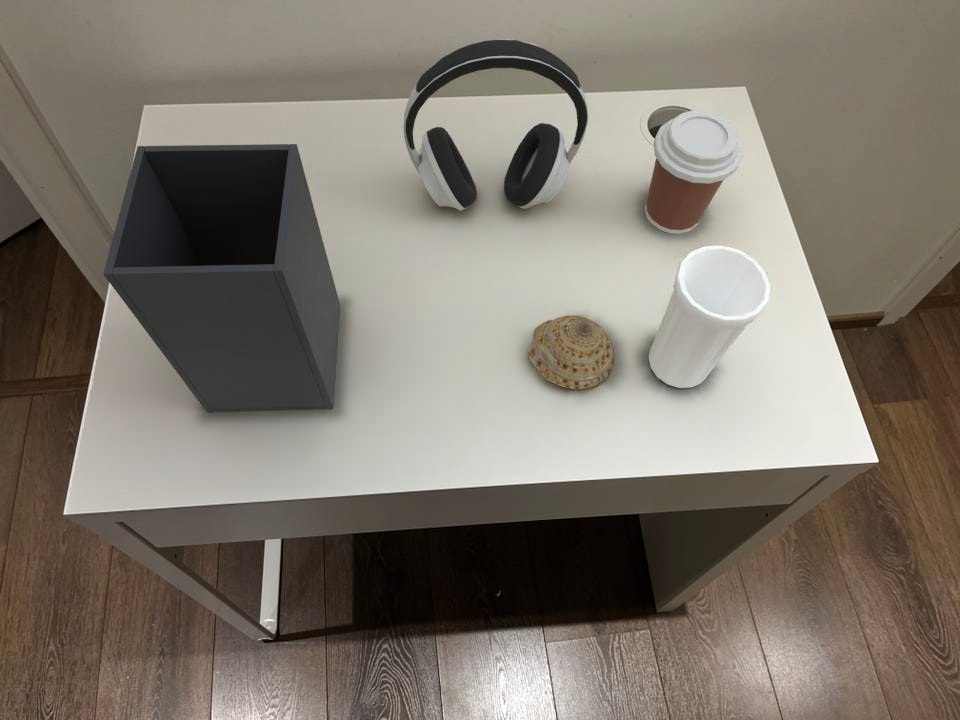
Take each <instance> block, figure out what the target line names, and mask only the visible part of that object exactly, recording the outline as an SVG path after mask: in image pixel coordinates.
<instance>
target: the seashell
mask: <svg viewBox="0 0 960 720" xmlns="http://www.w3.org/2000/svg"><path fill="white" fill-rule="evenodd" d="M614 354H615V353H614V347H613V344H612V341H611V339H610V337H609V336H608V333H607V332H606V331H605V329H603V328H602V326H601V325H599V324H598V323H596V322H595V321H594V320H591V319H590V318H587V317H585V316H581V315H575V314H569V315H568V314H566V315H563V316H559V317H556V318H554V319H548V320H546V321H544V322H543V323H541V324H540V325H538V326H536V327H535V328H534V330H533V333H532V345H530V347H529V348H528V350H527V355H528V358H529V361H530V362H531V364H532V366H533V367H534V368H536V369H537V372H538V373H539V374H540V375H542V377H543V378H545V380H547V381H549V382H551V383H553V384H554V385H557V386H559V387H563V388H566V389H571V390H585V389H588V388H589V389H590V388H593V387H596V386H597V385H599V384H601V383H603V382H604V381H605V380H606V379H607V378H608V377H609V375H610V374H611V372H612V370H613V368H614V362H615V361H614V360H615V355H614Z"/></svg>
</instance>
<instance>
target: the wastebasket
mask: <svg viewBox="0 0 960 720" xmlns="http://www.w3.org/2000/svg"><path fill="white" fill-rule="evenodd" d="M131 166H132V167H131V169H130V172H129V175H128V180H127V183H126V184H127V185H126V187H125V191H124V195H123V199H122V203H121V206H120V210H119V214H118V217H117V222H116V225H115V229H114V233H113V237H112V239H111V243H110V247H109V251H108V255H107V258H106V262H105V266H104V270H103V276H104V278H105V279H106V280H107V281H108V283H109V284H110V285H111V287H112V288H113V289H114V290H115V292H116V293H117V294H118V296H119V297H120V299H121V300H122V301H123V303H124V304H125V306H127V308H128V309H129V311H130V312H131V313H132V315H133V316H134V317H135V318H136V320H137V321H138V323H139V324H140V325H141V327H142V328H143V329H144V331H145V332H146V333H147V334H148V336H149V337H150V339H151V340H152V341H153V342H154V344H155V345H156V347H157V348H158V349H159V351H160V352H161V353H162V355H163V356H164V357H165V358H166V360H167V362H169V364H170V365H171V367H172V368H173V369H174V371H175V372H176V373H177V374H178V376H179V377H180V378H181V380H182V382H184V384H185V386H187V388H188V390H190V392H191V393H192V394H193V396H194V397H195V398H196V400H197V401H198V402H199V404H200V405H201V406H202V407H203V409H204V411H205V412H206V413H230V412H257V411H258V412H263V411H266V412H267V411H299V410H303V411H304V410H333V409H334V406H335V390H336V389H335V388H336V376H337V373H336V372H337V359H338V343H339V329H340V313H341V303H340V299H339V295H338V292H337V287H336V285H335V281H334V277H333V273H332V270H331V266H330V262H329V258H328V255H327V251H326V247H325V244H324V239H323V236H322V233H321V228H320V226H319V222H318V218H317V214H316V211H315V207H314V203H313V200H312V196H311V192H310V188H309V184H308V181H307V176H306V173H305V170H304V165H303V163H302V158H301V154H300V151H299V147H298V144H297V143H282V144H281V143H277V144H276V143H274V144H271V143H270V144H200V145H199V144H197V145H196V144H193V145H192V144H191V145H190V144H189V145H138V146H137V147H136V150H135V154H134V158H133V160H132V165H131Z"/></svg>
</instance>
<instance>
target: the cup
mask: <svg viewBox="0 0 960 720" xmlns="http://www.w3.org/2000/svg"><path fill="white" fill-rule="evenodd" d="M771 292H772V288H771V284H770V281H769V279H768V276H767V272H766V271H765V270H764V269H763V267H762V266H761V265H760V264H759V262H757V261H756V259H755V258H753V257H751V256H750V255H748V254H746V253H745V252H743V251H742V250H741V249H736V248H733V247H729V246H725V245H705V246H702V247H700V248H698V249H695V250H692V251H690V252H688V253H687V254H686V255H685V256H684V257H683V259H682V260H681V261H679V263H678V265H677V269H676V273H675V277H674V281H673V291H672V293H671V296H670V299H669V301H668V303H667V306H666V309H665V311H664V314H663V317H662V319H661V322H660V324H659V327H658V329H657V332H656V335H655V337H654V340H653V341H652V342H653V343H652V345H651V346H650V348H649V353H648V361H649V366H650V369H651V370H652V372H653V374H654V375H655V376H656V378H657V379H659V380H661V381H662V382H663V383H665V385H668V386H671V387H675V388H677V389H689V388H690V389H691V388H693V387H696V386H698V385H700V384H702V383H704V381H705V379H706V378H707V377H708V376H709V374H710V373H711V372H712V371H713V370H714V368H715V367H716V366H717V364H718V363H719V362H720V361H721V360H722V359H723V356H725V354H726V353H727V352H728V350H730V348H731V347H732V345H733V344H734V343H735V342H736V340H737V339H738V338H739V337H740V335H741V334H742V333H743V332H744V330H745V329H746V327H747V326H748V325H749V324H751V323H753V322H754V321H755V320H756V319H757V318H758V317H760V316H761V314H762V313H763V312H764V310H765V309H766V308H767V306H768V305H769V304H770V298H771Z"/></svg>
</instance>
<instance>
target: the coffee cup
mask: <svg viewBox="0 0 960 720" xmlns="http://www.w3.org/2000/svg"><path fill="white" fill-rule="evenodd" d="M653 152H654V156H655V162H654V166H653V171H652V176H651V179H650V184H649V189H648V193H647V198H646V203H645V205H644V210H645V211H644V212H645V216H646V218H647V219H648V221H649V223H650V224H651V225H653V226H654V228H656V229H658V230H659V231H663V232H665V233H667V234H674V235H675V234H676V235H681V234H685V233H689V232H691V231H692V230H693V229H695V228H696V227H697V226H698V224H699V223H700V220H701V218H702V217H703V215H704V213H706V210H707V208H709V205H710V203H711V202H712V200H713V199H714V197H715V195H716V193H717V192H718V190H719V188H720V187H721V185H722V183H723V182H724V181H725V180H727V179H728V178H729V177H731V176H732V175H733V174H735V172H737V170H738V168H739V165H740V164H741V163H740V162H741V160H742V157H743V150H742V144H741V141H740V140H739V138H738V133H737V130H736V129H735V127H734V126H733V125H732V123H731V122H730V121H729V120H727V119H726V118H724V117H723V116H722V115H720V114H718V113H714V112H711V111H708V110H695V109H694V110H690V111H689V110H688V111H685V112H682V113H680V114H678V115H676V117H674V118H671V119H669V121H667V122H666V123H664V124H663V125H661V126H660V127H659V129H658V131H657V133H656V135H655V137H654V140H653Z"/></svg>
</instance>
